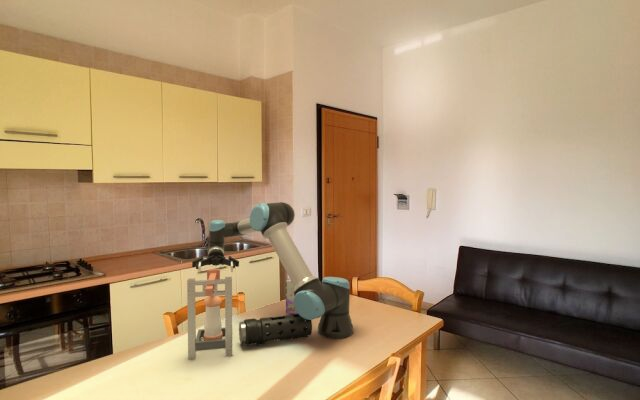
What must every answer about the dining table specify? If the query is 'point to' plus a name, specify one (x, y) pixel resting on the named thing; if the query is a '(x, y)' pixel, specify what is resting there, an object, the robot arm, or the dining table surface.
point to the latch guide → (192, 315)
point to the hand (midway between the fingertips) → (215, 269)
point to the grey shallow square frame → (209, 341)
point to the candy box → (290, 298)
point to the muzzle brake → (274, 329)
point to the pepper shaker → (212, 318)
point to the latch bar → (211, 275)
